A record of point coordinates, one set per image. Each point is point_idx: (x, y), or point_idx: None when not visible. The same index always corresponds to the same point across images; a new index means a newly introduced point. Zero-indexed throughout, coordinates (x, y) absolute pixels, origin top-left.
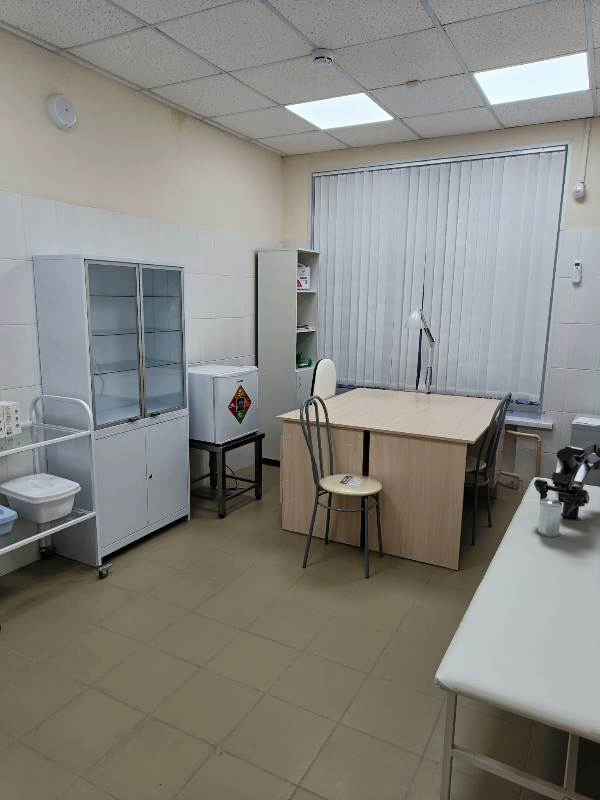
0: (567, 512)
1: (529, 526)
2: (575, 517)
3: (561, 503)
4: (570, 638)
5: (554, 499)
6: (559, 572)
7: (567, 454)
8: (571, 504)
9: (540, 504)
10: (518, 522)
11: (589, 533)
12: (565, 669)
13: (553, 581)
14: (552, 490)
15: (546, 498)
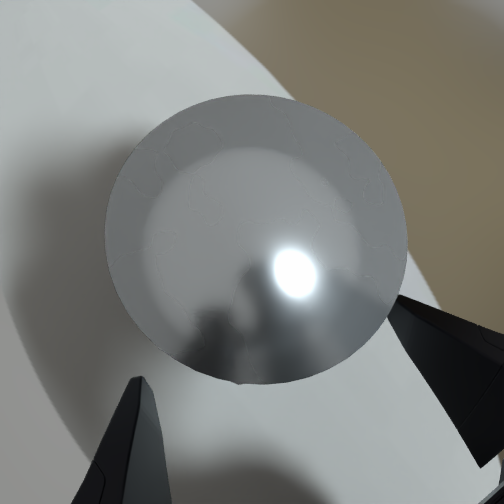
0: (127, 385)
1: None
2: None
3: (129, 301)
4: (7, 3)
5: (319, 365)
6: (42, 69)
7: None
8: (103, 469)
9: (410, 299)
10: (415, 275)
11: None
12: None
13: (45, 39)
14: (485, 499)
15: (400, 277)
